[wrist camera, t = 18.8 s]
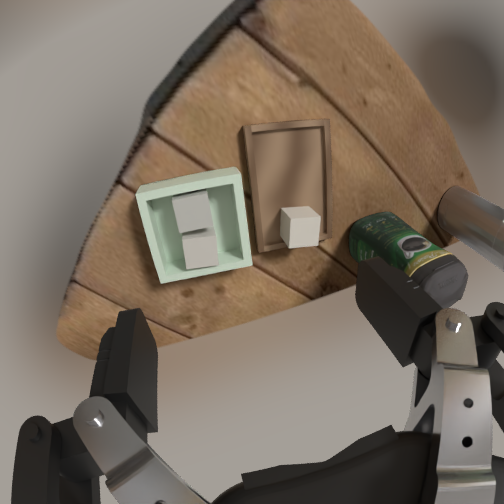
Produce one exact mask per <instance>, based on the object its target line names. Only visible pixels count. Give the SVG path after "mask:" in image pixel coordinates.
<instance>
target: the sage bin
mask: <svg viewBox="0 0 504 504" xmlns="http://www.w3.org/2000/svg"><path fill="white" fill-rule="evenodd" d="M205 188H206V189H207V193H208V199H209V204H210V210H211V215H212V220H213V225H214V229H215V233H216V240H217V251H218V262H219V265H217V266H209V267H201V268H193V269H186V263H185V256H184V250H183V243H182V233H179V229H178V225H177V221H176V216H175V212H174V208H173V203H172V197H173V195H175V194H180V193H185V192H189V191H195V190H200V189H205ZM135 195H136V199H137V203H138V207H139V211H140V214H141V218H142V222H143V226H144V229H145V233H146V237H147V240H148V244H149V247H150V250H151V254H152V257H153V260H154V264H155V267H156V270H157V273H158V276H159V280H160V283H161V284H162V283H167V282H172V281H177V280H182V279H187V278H192V277H197V276H202V275H207V274H212V273H217V272H222V271H227V270H232V269H237V268H242V267H247V266H252V257H251V249H250V242H249V234H248V226H247V218H246V210H245V202H244V194H243V186H242V178H241V173H240V172H239V170H238V169H237V168H236V167H230V168H224V169H218V170H212V171H207V172H201V173H196V174H191V175H186V176H181V177H176V178H171V179H167V180H162V181H157V182H153V183H149V184H144V185H140V187H139V189H138V191H137V193H136V194H135Z"/></svg>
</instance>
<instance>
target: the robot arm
mask: <svg viewBox="0 0 504 504" xmlns="http://www.w3.org/2000/svg"><path fill="white" fill-rule="evenodd" d="M438 222H439V225H440V227H441V228H442V229H443V230H445V231H447V232H448V233H450V234H451V235H453V236H454V237H456V238H457V239H459V240H460V241H461V242H463V243H465V244H466V245H467V246H469V247H470V248H472V249H473V250H475V251H476V252H478V253H479V254H480V255H482V256H483V257H484V258H486V259H487V260H488V261H490V262H491V263H493V264H494V265H496V266H497V267H498V268H499V269H501V270H502V271H503V272H504V209H503V208H501V207H499V206H497V205H495V204H494V203H491V202H490V201H488V200H486V199H484V198H482V197H480V196H478V195H476V194H474V193H472V192H470V191H468V190H466V189H464V188H462V187H459V186H454V187H451V188H450V189H449V190H448V191H447V192H446V193H445V194H444V196H443V198H442V200H441V202H440V205H439V209H438ZM355 295H356V302H357V305H358V307H359V309H360V311H361V312H362V313H363V314H364V316H365V317H366V318H367V320H368V321H369V322H370V324H371V325H372V326H373V328H374V329H375V330H376V332H377V333H378V334H379V336H380V337H381V338H382V340H383V341H384V342H385V343H386V345H387V346H388V348H389V349H390V350H391V352H392V353H393V354H394V356H395V357H396V358H397V360H398V361H399V363H400V364H401V365H402V367H405V366H407V365H409V364H411V363H413V362H414V363H415V365H416V368H415V372H414V381H413V391H412V400H411V407H410V413H409V417H408V420H407V422H406V425H405V428H404V431H400V432H395V430H394V429H393V427H392V425H390V426H388V427H385V428H383V429H381V430H379V431H377V432H374V433H372V434H370V435H368V436H365V437H363V438H360V439H358V440H357V441H355V442H354V443H353V444H351V445H350V446H348V447H347V448H345V449H344V450H342V451H341V452H339V453H338V454H336V455H335V456H333V457H332V458H330V459H328V460H327V461H324V462H318V463H307V464H293V465H279V466H276V467H271V468H267V469H263V470H258V471H253V472H249V473H243V474H241V476H242V480H243V482H241V483H239V484H236V485H234V486H233V487H231V488H229V489H227V490H226V491H225V492H223V493H222V494H220V495H219V496H218V497H217V498H216V499H215V500H214V501H213V502H212V503H210V502H209V501H208V500H207V499H205V498H204V497H203V496H202V495H200V494H199V493H198V492H197V491H196V490H195V489H193V488H192V487H191V486H190V485H189V484H188V483H187V482H185V481H184V480H183V479H182V478H181V477H180V476H179V475H178V474H177V473H176V472H175V471H174V470H173V469H172V468H171V467H170V466H169V465H167V463H166V462H165V461H163V459H162V458H161V457H160V456H159V455H158V454H157V453H156V452H155V451H154V450H153V449H152V448H151V447H150V446H149V445H148V444H147V433H152V432H158V425H157V424H158V423H157V421H158V420H157V367H158V352H157V346H156V342H155V339H154V337H153V335H152V333H151V330H150V328H149V326H148V323H147V321H146V319H145V316H144V314H143V312H142V310H141V309H140V308H137V309H131V310H125V311H120V312H119V314H118V318H117V322H116V327H111V328H109V329H108V330H107V332H106V333H105V334H104V336H103V337H102V339H101V343H100V347H99V353H98V356H97V362H96V365H95V370H94V375H93V380H92V385H91V390H90V396H89V398H87V399H85V400H84V401H82V402H81V403H80V404H79V405H78V406H77V408H76V410H75V412H74V415H73V417H71V418H69V419H66V420H63V421H60V422H57V423H54V424H51V423H50V422H49V421H48V420H47V419H46V418H45V417H43V416H33V417H30V418H29V419H27V420H26V421H25V422H24V423H23V425H22V426H21V428H20V431H19V436H18V442H17V449H16V455H15V463H14V472H13V481H12V497H11V504H101V502H100V485H99V476H102V475H105V476H106V478H107V480H106V482H105V483H106V486H107V488H108V489H109V491H110V492H111V494H112V495H113V496H114V497H115V499H116V500H117V501H118V502H119V504H504V458H502V457H498V456H494V455H492V415H493V416H494V418H495V419H496V421H497V423H498V424H499V426H500V427H501V429H502V430H503V432H504V369H503V368H502V366H501V365H500V364H499V363H498V362H497V360H496V358H497V356H498V355H499V353H500V351H501V350H502V351H503V353H504V304H503V303H500V302H492V303H490V304H489V305H488V306H487V307H486V310H485V312H484V315H482V316H475V317H469V316H467V314H465V313H464V312H462V311H460V310H458V309H455V308H445V309H443V308H442V307H441V306H440V305H439V304H438V303H437V302H436V301H435V300H434V299H433V298H432V297H431V296H430V295H429V294H428V293H426V292H425V291H424V290H423V289H422V288H421V287H419V285H418V284H417V283H416V282H415V281H412V278H410V277H409V276H408V275H407V274H406V273H405V272H404V271H402V270H400V269H398V268H396V267H393V266H390V265H388V264H387V263H386V262H385V261H384V260H383V259H382V258H381V257H374V258H370V259H366V260H362V261H360V262H359V265H358V274H357V284H356V293H355Z"/></svg>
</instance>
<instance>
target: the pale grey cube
mask: <svg viewBox="0 0 504 504" xmlns="http://www.w3.org/2000/svg"><path fill="white" fill-rule="evenodd" d="M182 243H183V250H184V256H185V263H186V269H193V268H201V267H209V266H217V265H219V262H218V251H217V240H216V233H215V229H214V225H213V226H212V227H207V228H202V229H197V230H193V231H188V232H183V233H182Z"/></svg>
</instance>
